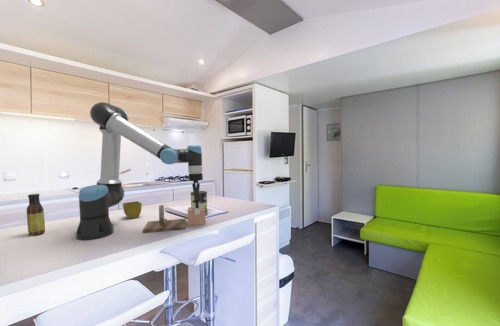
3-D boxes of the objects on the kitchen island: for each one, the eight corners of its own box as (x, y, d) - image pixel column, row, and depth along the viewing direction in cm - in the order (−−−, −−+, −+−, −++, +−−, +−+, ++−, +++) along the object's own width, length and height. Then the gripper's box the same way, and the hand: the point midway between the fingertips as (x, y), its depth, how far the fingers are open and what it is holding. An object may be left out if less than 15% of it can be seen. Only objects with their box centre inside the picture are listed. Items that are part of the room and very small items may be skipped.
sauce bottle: (48, 232, 118) (46, 193, 118) (34, 236, 112) (32, 195, 111) (38, 231, 120) (37, 192, 119) (24, 235, 114) (22, 194, 113)
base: (142, 232, 116) (141, 209, 115) (148, 224, 130) (147, 203, 130) (184, 229, 120) (184, 206, 120) (185, 221, 135) (185, 201, 134)
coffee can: (208, 211, 156) (208, 190, 156) (205, 215, 146) (205, 193, 146) (193, 212, 157) (192, 190, 156) (189, 216, 146) (188, 193, 146)
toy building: (188, 225, 126) (187, 211, 126) (188, 221, 135) (188, 207, 134) (205, 224, 128) (204, 209, 128) (204, 220, 137) (204, 206, 137)
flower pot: (122, 217, 145) (122, 203, 145) (137, 214, 151) (137, 200, 151) (126, 220, 139) (126, 205, 138) (142, 217, 144) (142, 202, 144)
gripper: (203, 174, 119) (205, 216, 120) (201, 171, 143) (202, 205, 144) (188, 175, 117) (189, 217, 118) (188, 171, 142) (190, 206, 142)
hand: (197, 211), depth 131 cm, fingers open, 13 cm apart
